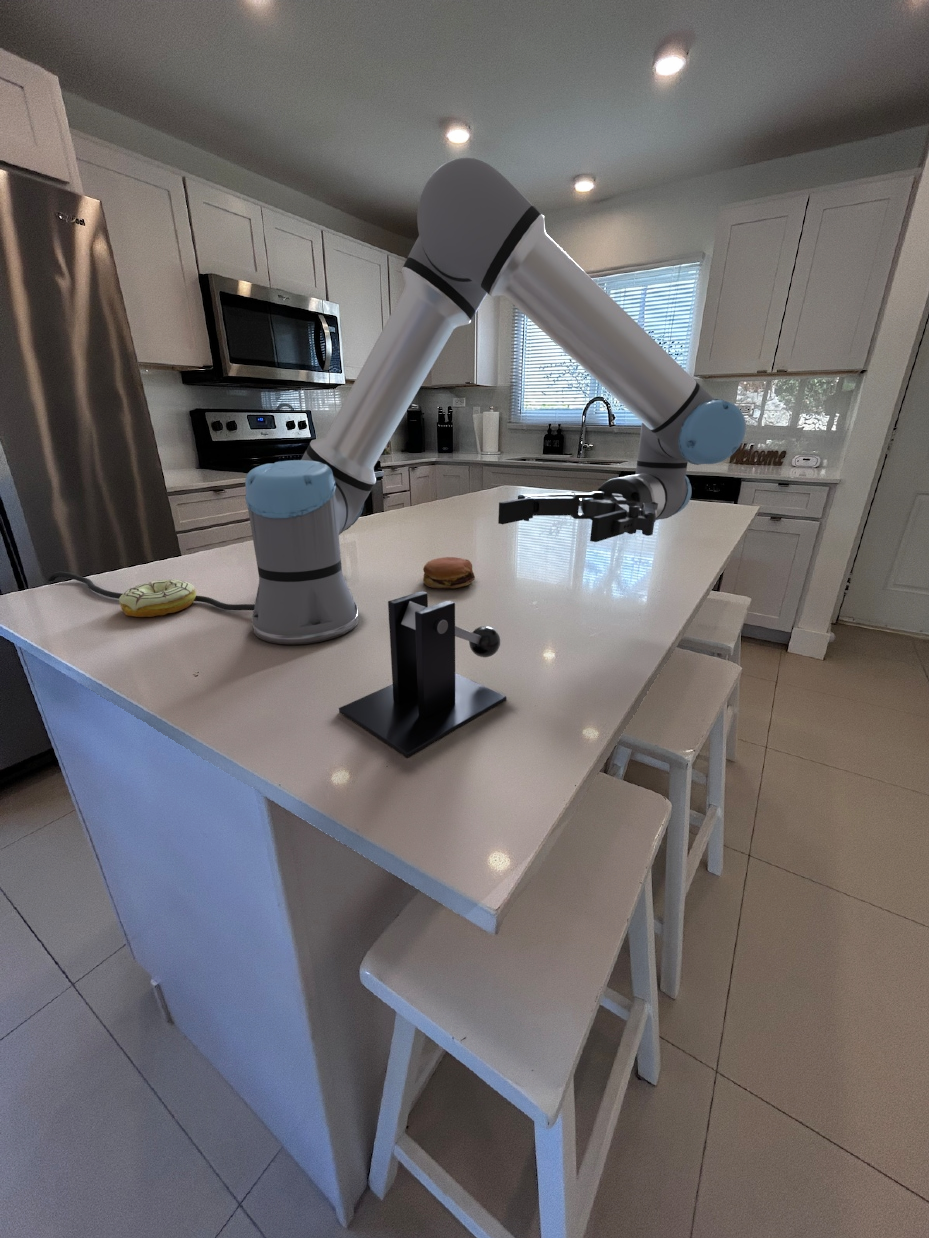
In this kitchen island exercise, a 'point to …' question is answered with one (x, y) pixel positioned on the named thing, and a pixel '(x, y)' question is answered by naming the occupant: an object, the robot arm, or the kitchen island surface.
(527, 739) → the kitchen island surface
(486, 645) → the lever handle
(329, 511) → the robot arm
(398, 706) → the black stand
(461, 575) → the burger
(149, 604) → the decorated donut
